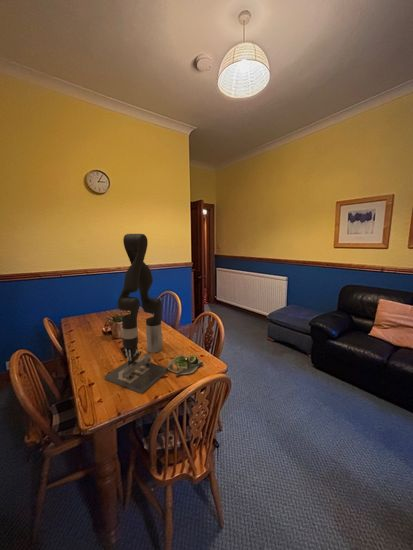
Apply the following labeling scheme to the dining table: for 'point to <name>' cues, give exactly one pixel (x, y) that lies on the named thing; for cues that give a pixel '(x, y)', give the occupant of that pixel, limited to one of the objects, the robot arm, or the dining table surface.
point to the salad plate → (184, 364)
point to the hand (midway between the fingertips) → (131, 366)
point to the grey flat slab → (138, 376)
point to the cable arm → (134, 366)
